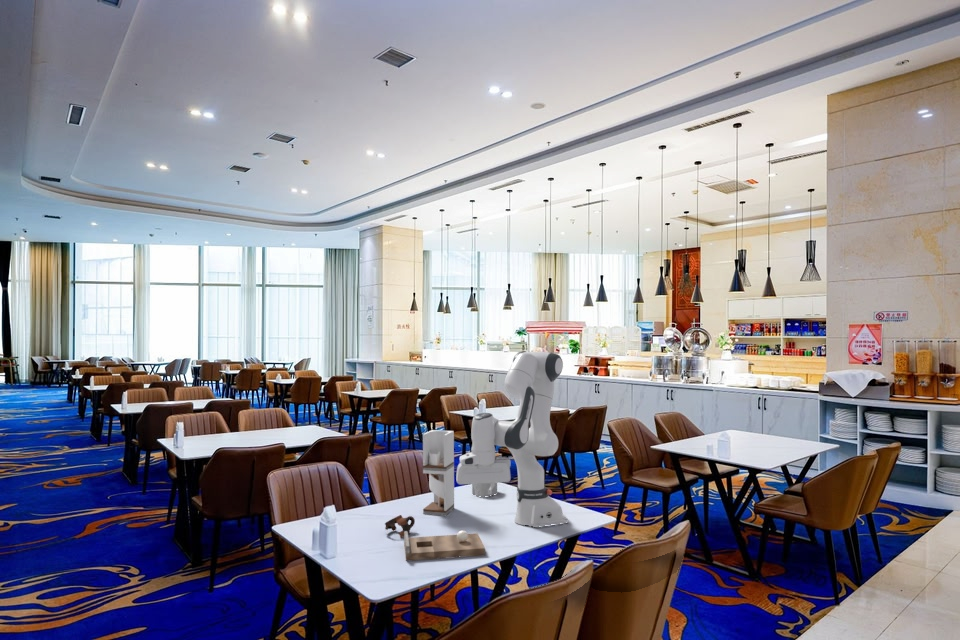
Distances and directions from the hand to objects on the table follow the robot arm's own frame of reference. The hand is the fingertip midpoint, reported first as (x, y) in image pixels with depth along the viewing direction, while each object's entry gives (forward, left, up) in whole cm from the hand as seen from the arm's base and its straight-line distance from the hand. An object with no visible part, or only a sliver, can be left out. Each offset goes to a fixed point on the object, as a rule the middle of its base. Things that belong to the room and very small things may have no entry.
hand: (483, 495), depth 214 cm
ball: (+8, 0, -15) cm, 17 cm away
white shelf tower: (+12, -48, -19) cm, 53 cm away
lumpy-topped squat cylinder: (-14, -72, -19) cm, 76 cm away
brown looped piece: (+30, -21, -19) cm, 41 cm away
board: (+15, 0, -19) cm, 24 cm away
